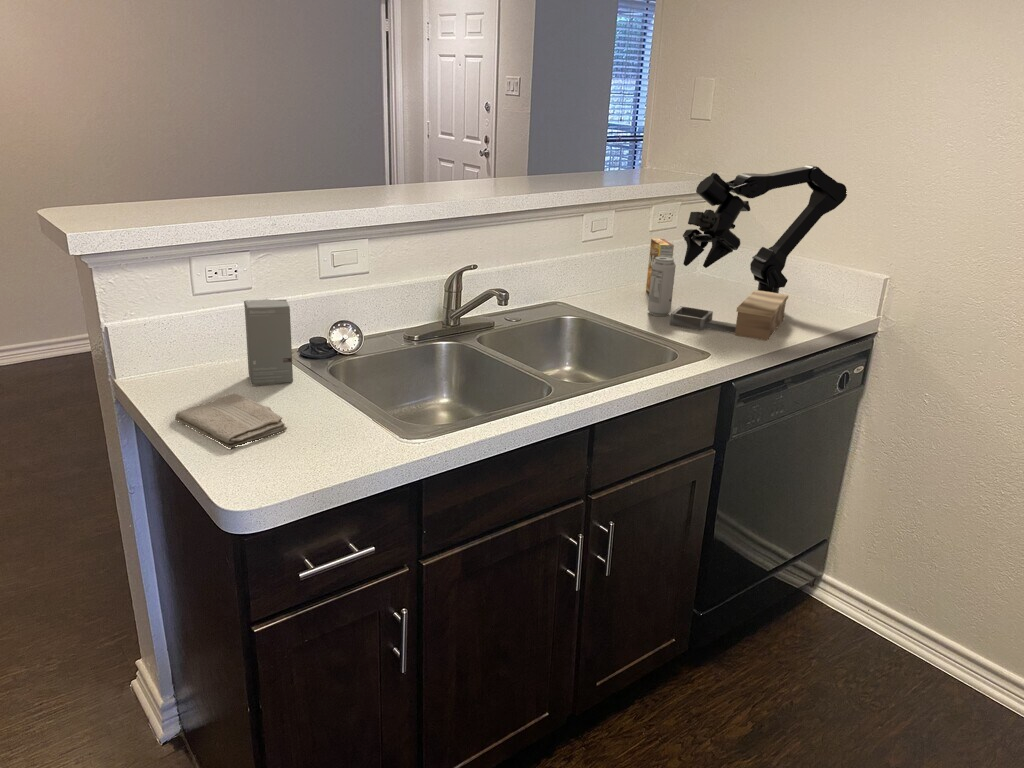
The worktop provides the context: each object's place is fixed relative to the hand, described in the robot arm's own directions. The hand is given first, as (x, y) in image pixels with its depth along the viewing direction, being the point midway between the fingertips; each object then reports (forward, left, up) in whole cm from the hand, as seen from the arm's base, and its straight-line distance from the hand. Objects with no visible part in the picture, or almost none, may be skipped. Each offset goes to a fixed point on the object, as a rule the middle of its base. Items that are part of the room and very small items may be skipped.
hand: (694, 266), depth 211 cm
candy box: (-14, -14, -13) cm, 23 cm away
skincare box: (+96, -58, -13) cm, 113 cm away
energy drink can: (+6, -6, -13) cm, 16 cm away
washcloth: (+117, -48, -13) cm, 127 cm away
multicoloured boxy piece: (+4, +11, -13) cm, 18 cm away
